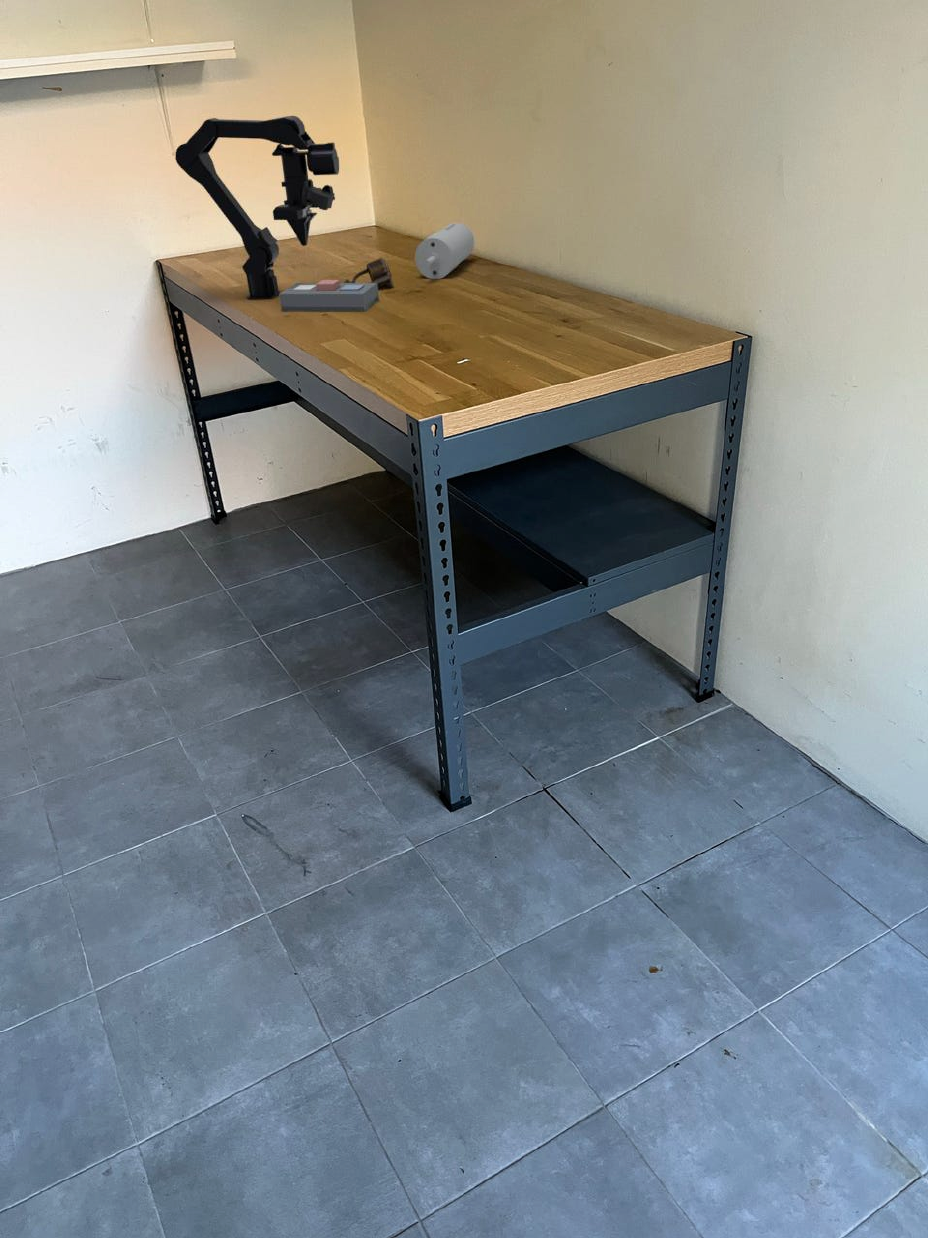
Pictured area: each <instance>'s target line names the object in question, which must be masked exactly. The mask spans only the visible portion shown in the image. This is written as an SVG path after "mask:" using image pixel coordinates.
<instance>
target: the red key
mask: <svg viewBox="0 0 928 1238" xmlns="http://www.w3.org/2000/svg"><path fill="white" fill-rule="evenodd" d="M316 283H317V284H316V288H317V291H336V290H337V289H338V288H340V283H341V280H340V279H322V280H320V281H319V282H316Z"/></svg>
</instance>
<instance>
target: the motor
mask: <svg viewBox="0 0 928 1238" xmlns="http://www.w3.org/2000/svg"><path fill="white" fill-rule="evenodd" d="M474 248H475V237H474V234H473V232H472V230H471V229H470V227H468V226H466V225H465V224H463V223H459V222H454V223H450V224H447V226H445V227H444V228H442V229H441V230H439V231H436V232H435V233H433V234H432V235H430V236H429V237H426V238H425V239H424V240H422V241H421V242H420V243H419V245H417V247H416V250H415V253H414V260H415V265H416V267H417V269H418V271H419V272H420V273H421V274H422V275H423V276H424V277H425V278H428V279H430V280H440V279H442V278H444V277H446V276H447V275H448V274H449V273H452V271H453V270H455V269H456V268H458V266H459V265H460V264H461V263H462V262H463V261H464V260H465V259H467V258H468V257H469V256H470V255H471V254H472V252H473V251H474Z"/></svg>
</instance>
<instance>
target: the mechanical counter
mask: <svg viewBox="0 0 928 1238" xmlns="http://www.w3.org/2000/svg"><path fill="white" fill-rule="evenodd" d="M366 274H368V275H369V278H370V280H371V281H370V282H369V283H377V285H378V289H379V288H382V287H384V286H385V285H386V286H387V285H389V286H391V288H394V287H395V285H394V282H393V278H392V276H393V275H392V272H391V269H390V267H389V265H388V263H387V261H386V259H385V258H384V257H379V258H378V259H375V260H373V261H371V262H369V263H366V268H365V269H363V270H360V271H359V272H358V273H356V274H355V275H354V276H353V278H352V280H351V281H350V280H349V279H345V280H344V282H343V283H356V280H357V279H358V278H360V277H361V276H363V275H366Z"/></svg>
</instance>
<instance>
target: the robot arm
mask: <svg viewBox="0 0 928 1238" xmlns="http://www.w3.org/2000/svg"><path fill="white" fill-rule="evenodd" d="M219 138H220V139H221V138H222V139H223V138H225V139H253V140H255V139H256V140H257V139H258V140H259V139H260V140H266V141H269V142H273V144H274V143H275V144H277V145H276V148H275V149H274V151H272V153H271V156H273V157H279V156H280V157H281V165H282V171H283V181H281V187H282V188H284V189H285V196H286V200H283V203H284V204H280V205H278V206H276V207H274V209H273V210H272V217H273V220H274V221H286V222H287V223H288V225H289V226H290V228H291V230H292V231H293V233H294V234H295V236H296V238H297V240H298V242H299V243H300V245H301V246H302V247H304V246H308V242H309V240H308V239H309V233H310V227H311V226H310V225H311V221H313V219H314V218H315V217H316V216H317V214H318V212H313V211H312V209H311V208H313V209H316V208H318V209H319V210H322V211H328V209H332V206H333V201H335V200H336V196H335V193H334V189H333V186H331V185H328V184H326V185H324V186H323V187H322V188H321V187H316V186H314V180H312V179H310V178H309V174H308V172H310V173H312V174H313V176H335V175H339V173H340V158H339V156H338V152H337V149H336V145H335V142H327V143H315V142H314V139H312V137H311V136H310V135H309V134H308V132H307V131H306V128H305V124H304V122H303V121H302V120H301V118H300V117H298V116H296V115H288V116H281V117H277V118H270V119H266V120H258V119H257V120H255V119H253V120H252V119H219V118H215V117H212V118H208V119H205V120H204V121H203V122H202V124H201V126H200V127H199V128H198V129H197V130H196V131H195V132H194V133H193V135H192V136H191V137H190V138H189V139H188V140H187V142H185V143H182V144H180V145H179V146H178V147H177V148H176V150H175V157H174V159H175V162H176V164H177V165H178V166H179V168H181V170H182V171H184V173H186V174H187V175H188V176H189V177H190V178H191V179H193V180H194V181H195V182H197V183H198V184H200V186H202V188H203V189H204V190H205V191H206V193H207V194H208V195H209V196H210V198H211V199H212V200H213V202H214V203H215V204H216V205H217V207H218V208H219V210H220V211H221V212H222V213H223V215H224V216H225V218H226V219H227V220H228V222H229V223H230V224H231V226H232V227H233V228H234V229H235V231H236V232H237V233H238V235H239V236H240V238H241V241H242V244H243V247H244V249H245V252H246V253H247V255H248V258H247V260H246V261H245V262H244V263H243V265H242V266H241V267H242V270H243V271H244V273H245V276H246V281H247V288H248V293H249V294H248V295H247V297H246V299H248V300H249V299H250V300H251V299H254V300H259V299H260V300H261V299H265V300H266V299H267V300H270V299H272V298H274V297H276V296H277V295H279V294H280V293H281V292H280V290H279V285H278V278H277V276H276V275H275V272H274V271H275V270H274V269H272V268H274V264H275V261H276V260H277V258H279V254H280V248H279V245H278V243H277V242H278V239H277V238H276V237H274V235H272V233H271V231H270V229H269V228H268V227H267V226H265V227H264V228H260V227H258V226H257V225H256V224H255V223H254V221H253V220H252V219H251V218H250V216H249V215H248V213H247V212H246V211H245V209H244V208H243V207H242V205H241V204H240V203H239V201H238V200H237V199H236V198H235V196H234V194H233V193H232V192H231V191H230V189H229V188H228V187H227V185H226V184H225V182H223V180H222V179H221V178H220V176H219V175H218V173H217V170H216V168H215V164H214V162H213V160H212V157H211V156H210V154H209V153H210V152H211V151H212V149H213V148H214V146H215V144H216V143H217V141H218V140H219ZM283 145H285V146H283ZM287 146H288V147H287Z"/></svg>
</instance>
